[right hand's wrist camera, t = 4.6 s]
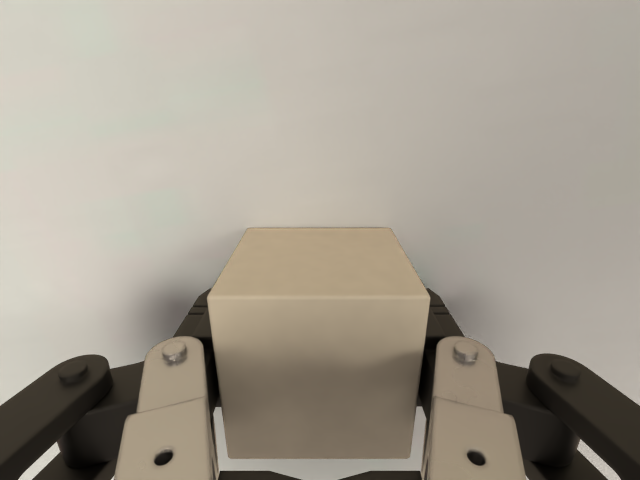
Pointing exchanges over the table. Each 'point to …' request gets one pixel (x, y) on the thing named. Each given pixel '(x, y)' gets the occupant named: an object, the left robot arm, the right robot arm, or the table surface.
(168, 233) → the table surface
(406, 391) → the beige cube
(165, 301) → the table surface
